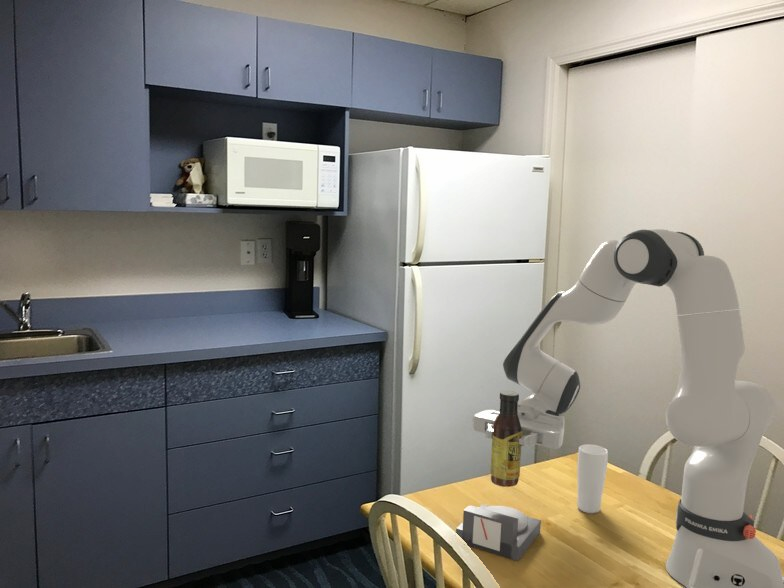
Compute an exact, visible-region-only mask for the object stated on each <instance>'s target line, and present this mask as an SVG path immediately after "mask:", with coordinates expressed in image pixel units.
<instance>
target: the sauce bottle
mask: <svg viewBox="0 0 784 588" xmlns="http://www.w3.org/2000/svg"><path fill="white" fill-rule="evenodd" d="M519 400H520V394H519V393H518V392H516V391H513V390H502V391H500V392H499V401H500V403H499V410H498V411H500V413H499V415H498V416H497V418H496V419H495V421H494V427H493V436H492V439H491V454H490V455H491V457H490V458H491V459H490V474H491V475H490V480H491V483H492V484H494V485H496V486H499V487H503V488H504V487H507V488H508V487H515V486H517V485H518V484H519V480H520V479H519V478H520V477H521V460H522V459H521V457H522V446H520V445H519V438H520V437H521V436H522V428H521V424H520V421H519V417H518V414H517V413H518V411H517V407H518V403H519Z"/></svg>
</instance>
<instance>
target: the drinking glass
mask: <svg viewBox="0 0 784 588" xmlns="http://www.w3.org/2000/svg"><path fill="white" fill-rule="evenodd" d="M608 451H609V450H608V449H606V448H605V447H603V446H600V445H597V444H582V445H580V446H578V452H577V460H576V461H577V463H576V464H577V469H576V470H577V471H576V472H577V473H576V474H577V501H576V502H577V505H576V506H577V509H578V510H580V512H583V513H586V514H596V513H599V512H600V511H601V507H602V506H601V505H602V504H601V503H602V498H603V497H602V496H603V493H604V492H603V491H604V485H605V481H606V476H607V468H608V460H609V459H608V458H609V455H608V454H609V452H608Z"/></svg>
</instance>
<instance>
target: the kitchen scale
mask: <svg viewBox="0 0 784 588" xmlns="http://www.w3.org/2000/svg"><path fill="white" fill-rule="evenodd" d="M462 518H463V519H462V523H460V524H459V525H458V526H457V527H456V529H455V534H456V533H457V534H458V535H459V536H460V537H461V538H462V539H463V540H464V541H465V542H466V543H467V544H468V545H469V547H472V548H474V547H475V549H478V548H479V549H478V550H481V551H484V552H488V553H490V554H494V555H496V556H500V557H504V558H506V559H510V560H513V561H517V562H519V561H520V559H521V558H522V557H523V555H524V554H525V553H526V551H528V549H529V548H530V546H531V545H532V544H533V543H534V541H535V540H536V539H537V538H538V536H539V535H540V534H541V528H542V527H541V526H542V525H541V524H542V520H541V519H538V518H535V517H532V516H527V515H526V514H525V513H524V512H522V511H520V510H519V509H516V508H514V507H510V506H505V505H488V504H483V503H481V504H480V505H479V506H474V505H472V504H469V505H468V506H466V508H464V509H463V515H462ZM468 545H467V546H468Z"/></svg>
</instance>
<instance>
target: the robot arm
mask: <svg viewBox="0 0 784 588" xmlns="http://www.w3.org/2000/svg"><path fill="white" fill-rule="evenodd" d="M637 283H638V284H642V285H649V286H653V287H662V286H666V287H668V288H669V289H670V291H671V292H672V294H673V296H674V301H675V308H676V314H677V315H676V316H677V317H676V318H677V324H678V332H679V340H680V341H679V342H680V352H681V356H680V357H681V358H680V370H679V377H678V381H677V384H676V385H677V386H676V390H675V393H674V395H673V397H672V399H671V401H670V402H669V404H668V405H667V407H666V411H665V422H666V423H665V424H666V427H667V428H668V431H669V432H670V434H671V436H672V437H673V438H674V439H675V440H676V441H678V442H679V443H680V444H682V445H684V446H686V447H694V450H693V451H692V453H691V454H690V456H689V457H688V458H687V460H686V462H685V464H684V466H683V468H684V469H683V478H682V487H681V498H680V499H679V501H678V504H677V508H676V515H675V516H676V518H675V524H676V525H675V527H676V533H675V537H674V541H673V543H672V548H671V551H670V553H669V556H668V558H667V561H666V562H665V569H666V571H667V573H668V574H669V575H670V577H671V578H673V579H674V580H675V581H677V582H678V583H680V584H681V585H683V586H684V587H685V588H784V575H783V571H782V568H781V567H782V566H781V565H780V561H779V559H778V557H777V555H776V554H775V553H774V552H773V551H772V550H771V549H770V548H769V547H768V546H766V545H765V544H764V543H763V542H762V541H761V540H760V539H759V538H758V537H757V536H756V532H757V530H756V528H755V521H754V520H753V519H754V518H753V515H752V514H751V513H750V515H748V514H746V512H744V507H745V499H746V493H747V485H748V478H749V475H750V471H751V469H752V464H753V462H754V460H755V456H756V454H757V452H758V450H759V446H760V444H761V441H762V438H763V436H764V434H765V432H766V430H767V428H768V427H769V425H770V424H771V423H772V422H773V420H774V418H775V416H776V412H777V410H776V409H777V408H776V403H775V399H774V398H773V395H772V394H771V392H770V391H769V390H768V389H767V388H766V387H764V386H763V385H761V384H759V383H758V382H757V383H756V382H754V381H748V380H747V381H746V380H738V379H737V371H738V368H739V367H738V366H739V363H740V360H741V359H742V357H743V356H744V353H745V347H746V346H745V340H744V339H745V338H744V332H743V325H742V318H741V310H740V304H739V298H738V295H737V290H736V286H735V283H734V280H733V276H732V273H731V271H730V269H729V266H728V264H727V263H726V262H725V260H723V259H721V258H719V257H716V256H713V255H705V251H704V248H703V246H702V244H701V243H700V242H699V240H698V239H697V238H695V237H694V236H693V235H690V234H688V233H685V232H682V231H681V232H680V231H672V230H668V229H664V228H663V229H660V228H659V229H658V228H657V229H638V230H634V231H632V232H629V233H628V234H626V235H624V236H623V237H622V238H621V239H619V240H614V239H613V240H607V241H605V242H602V243H601V244H600V245H599V247H598V248H597V249H596V251H595V252H594V254H592V256H591V257H590V258H589V261H588V262H587V263H586V265H585V267H584V268H583V271H582V272H581V274H580V276H579V278H578V280H577V281H576V282H575V284H574V285H573V286H572V287H571V288H570V289H568V290H559V291H558V292H557V293H555V295H552V297H551V298H550V299H549V301H548V302H547V303H546V304H545V305H544V307H543V308H542V310H540V312H539V313H538V314H537V315H536V317H535V318H534V320H533V321H532V322H531V324H529V327H528V328H527V329H526V330H525V332H524V333H523V334H522V336H521V338H520V339H519V340H518V341H517V343H516V344H515V345H514V346H513V347H512V348H511V349H510V350H509V352H507V354H506V356H505V358H504V360H503V362H502V363H503V364H502V366H503V367H502V368H503V371H504V373H505V377H506V378H507V379H508V380H510V381H511V382H514V383H515V384H518V386H522V387H524V388H525V389H527V390H528V391H530V392H532V394H530V395H528V396H527V397H526V398H524V399H523V400H521V401H519V402H518V407H517V411H518V413H517V414H518V417H519V421H520V424H521V428H522V436H521V437H520V438H519V445H520V446H521V447H525V448H526V447H528V446H532V445H533V446H534V445H535V446H539V447H544V448H548V449H553V450H556V449H557V450H558V449H560V448H561V446H562V445H563V443H564V442H563V441H564V435H565V426H566V425H565V422H566V419H565V415H563V414H565V413H566V412H568V410H569V409H570V408H571V407H572V405H573V404H574V402H575V401H576V399H577V396H578V395H579V392H580V391H581V390H580V389H581V381H580V376H579V373H578V372H577V370H574V369H573V368H572V367H570V366H568V365H566V364H565V363H563V362H562V361H559V360H558V359H556V358H554V357H552V356H551V355H549V354H547V353H546V352H544V351H542V350H541V348H540V347H539V344H540V343H541V341H543V339H544V337H546V336H547V334H548V332H549V331H550V330H551V329H552V327H553V326H554V325H555V324H556V323H560V322H563V323H574V324H578V325H579V324H580V325H585V326H598V325H603V324H607V323H609V322H610V321H612V320H614V319H615V318H616V316H617V315H618V314H619V313H620V312H621V310H622V308H623V306H624V305H625V303H626V301H627V299H628V297H629V296H630V293H632V292H631V291H632V290H633V288H634V287H635V285H636V284H637ZM736 379H737V380H736ZM499 413H500V411H499V410H495V409H484V410H482V411H479V412H476V413H474V415H473V416H472V423H471V425H472V429H473V431H475V432H477V433H482V434H485V438H486V439H490V440H492V436H493V427H494V421H495V419H496V418H497V416H498V415H499Z"/></svg>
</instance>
